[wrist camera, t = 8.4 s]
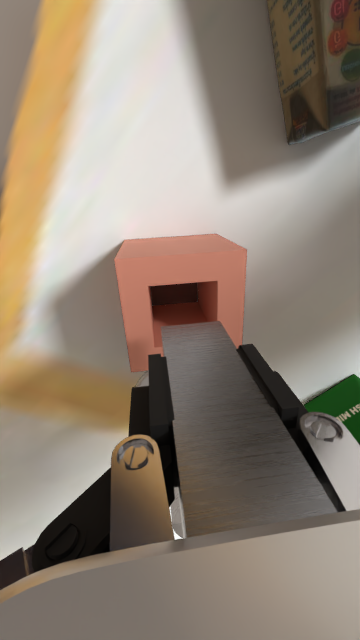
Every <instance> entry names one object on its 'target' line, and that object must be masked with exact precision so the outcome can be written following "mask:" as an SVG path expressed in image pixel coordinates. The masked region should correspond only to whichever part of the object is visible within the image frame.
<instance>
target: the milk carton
mask: <svg viewBox="0 0 360 640" xmlns="http://www.w3.org/2000/svg"><path fill="white" fill-rule="evenodd" d="M304 406H305V408H306V410H307V411H308V412H321V413H325V414H328V415H331V416H333V417H335V418H336V419H338V420H339V421H341V422H342V423H343V424H344V425H345V426H346V428H347V429H348V430H349V432H350V433H351V434H352V436H353V437H354V438H355V440H356V441H357V442H359V443H360V378H359V377H357V376H356V375H355V374H353V375H352V376H350V377H349V378H347V379H345V380H344V381H342V382H340V383H339V384H337V385H336V386H334V387H332V388H331V389H329V390H328V391H326V392H324V393H323V394H321V395H319V396H318V397H316V398H315V399H313V400H311V401H310V402H308V403H307V404H305V405H304Z"/></svg>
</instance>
